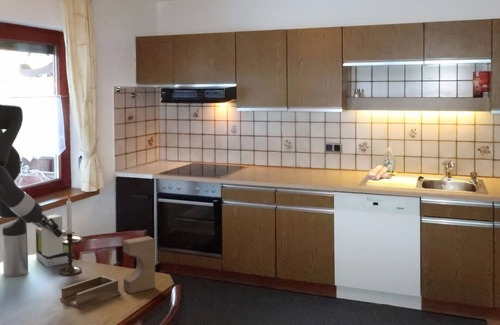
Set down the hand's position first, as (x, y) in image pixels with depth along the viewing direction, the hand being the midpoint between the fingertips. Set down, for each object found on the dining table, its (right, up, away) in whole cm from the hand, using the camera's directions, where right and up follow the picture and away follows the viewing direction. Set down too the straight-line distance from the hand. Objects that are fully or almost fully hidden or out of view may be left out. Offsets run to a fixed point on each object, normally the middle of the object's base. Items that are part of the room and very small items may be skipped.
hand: (56, 233), depth 196 cm
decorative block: (+28, -23, +12) cm, 38 cm away
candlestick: (-5, -20, +29) cm, 36 cm away
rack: (+12, -24, +3) cm, 27 cm away
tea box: (-18, -18, +43) cm, 50 cm away
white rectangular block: (-1, -7, -1) cm, 7 cm away
